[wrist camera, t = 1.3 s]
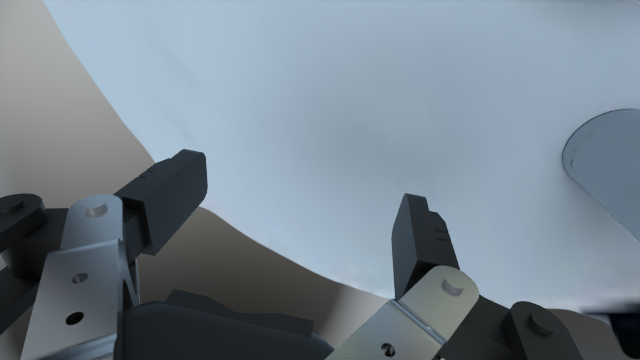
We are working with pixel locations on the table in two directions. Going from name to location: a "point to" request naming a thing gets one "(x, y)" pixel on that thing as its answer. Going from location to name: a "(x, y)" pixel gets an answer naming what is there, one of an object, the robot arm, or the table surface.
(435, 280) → the robot arm
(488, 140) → the table surface
